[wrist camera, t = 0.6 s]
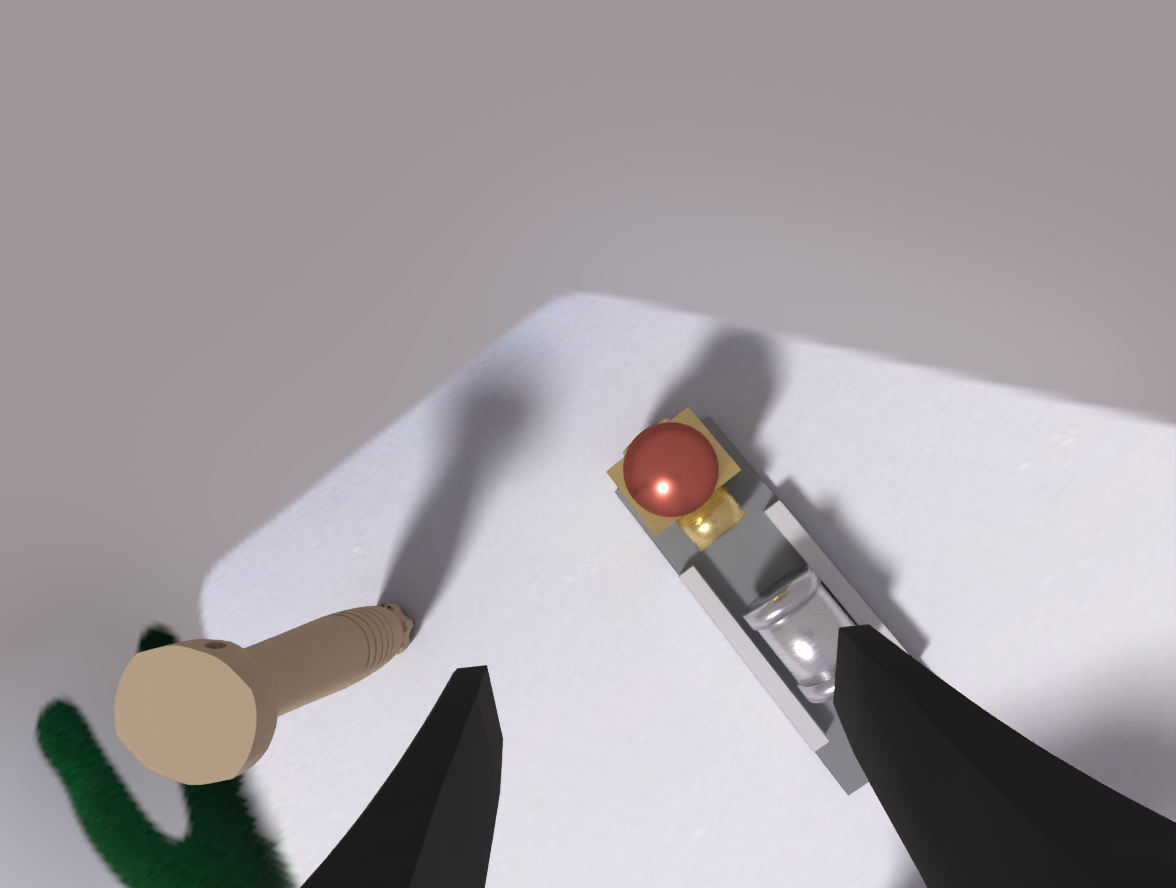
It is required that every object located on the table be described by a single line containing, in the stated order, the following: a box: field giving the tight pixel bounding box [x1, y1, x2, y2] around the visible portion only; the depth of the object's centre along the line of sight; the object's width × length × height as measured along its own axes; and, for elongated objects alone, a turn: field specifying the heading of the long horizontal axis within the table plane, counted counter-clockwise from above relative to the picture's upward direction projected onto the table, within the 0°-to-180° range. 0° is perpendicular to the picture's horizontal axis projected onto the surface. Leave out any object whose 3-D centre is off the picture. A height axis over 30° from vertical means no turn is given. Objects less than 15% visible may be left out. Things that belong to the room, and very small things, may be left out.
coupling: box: [742, 566, 855, 703], centre depth 29 cm, size 5×4×4 cm
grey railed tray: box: [615, 417, 908, 795], centre depth 32 cm, size 20×7×1 cm, turn 38°
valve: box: [607, 407, 748, 552], centre depth 30 cm, size 7×5×7 cm
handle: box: [114, 603, 414, 785], centre depth 29 cm, size 5×6×15 cm
